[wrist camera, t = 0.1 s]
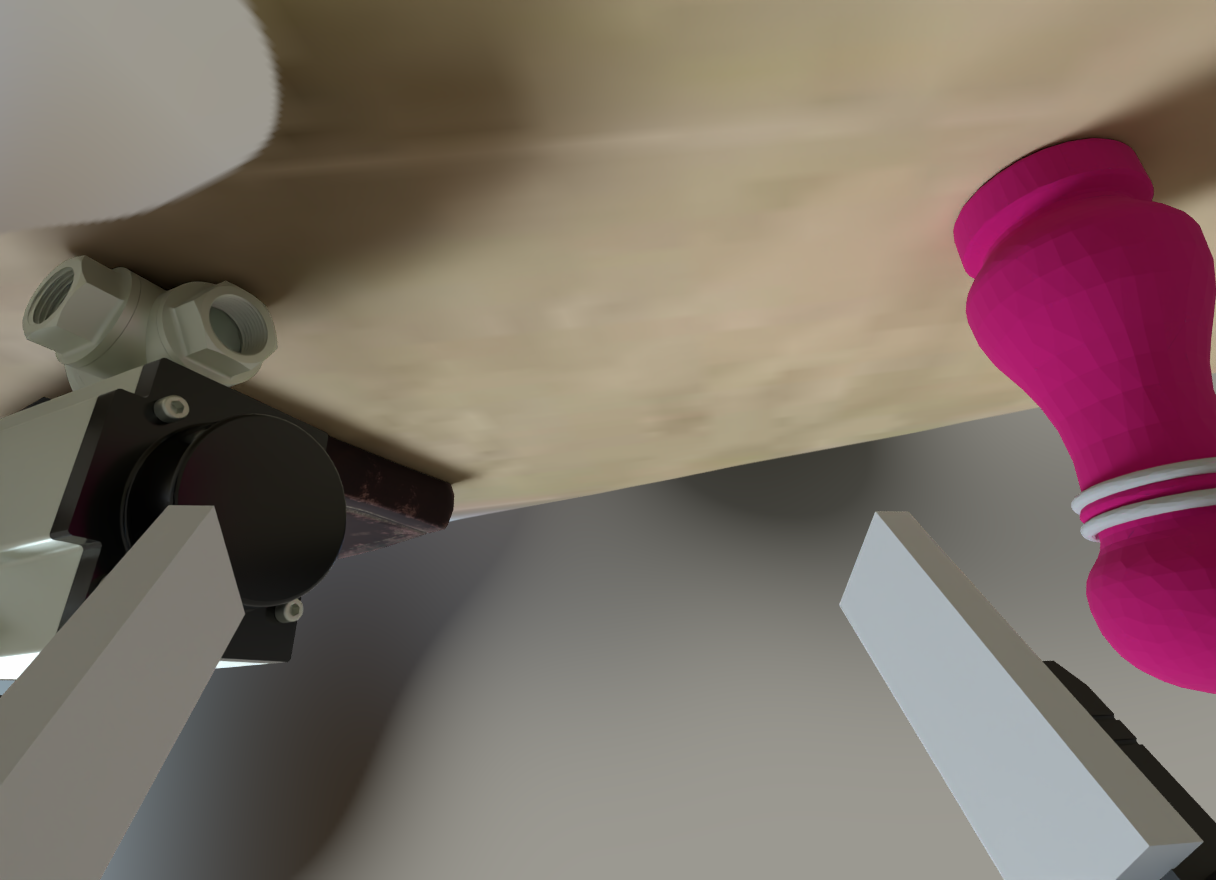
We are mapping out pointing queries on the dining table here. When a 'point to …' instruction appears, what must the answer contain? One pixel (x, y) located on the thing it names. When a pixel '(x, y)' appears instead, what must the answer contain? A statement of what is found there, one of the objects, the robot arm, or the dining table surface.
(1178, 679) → the pepper mill
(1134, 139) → the dining table surface
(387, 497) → the diary
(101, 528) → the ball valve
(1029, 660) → the robot arm
